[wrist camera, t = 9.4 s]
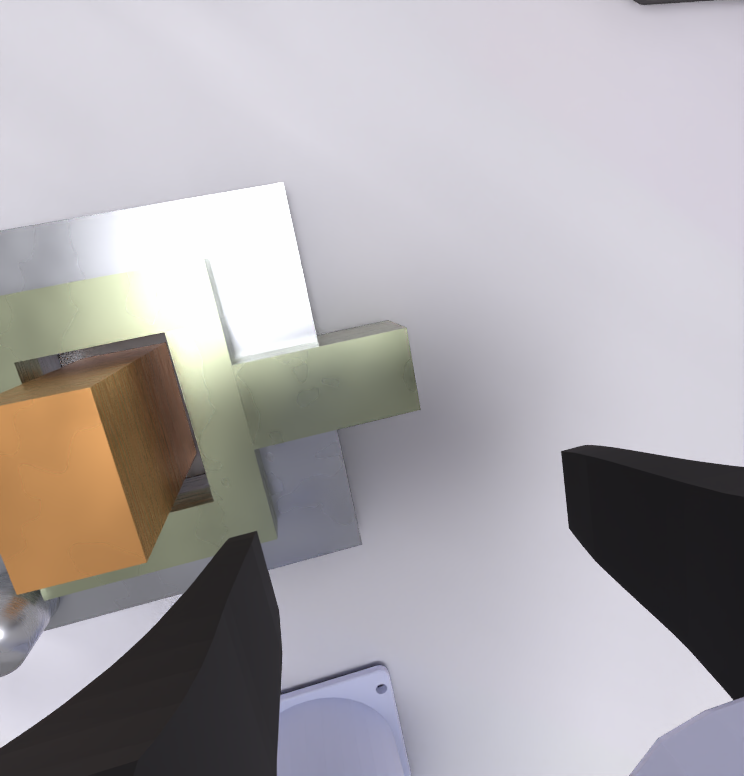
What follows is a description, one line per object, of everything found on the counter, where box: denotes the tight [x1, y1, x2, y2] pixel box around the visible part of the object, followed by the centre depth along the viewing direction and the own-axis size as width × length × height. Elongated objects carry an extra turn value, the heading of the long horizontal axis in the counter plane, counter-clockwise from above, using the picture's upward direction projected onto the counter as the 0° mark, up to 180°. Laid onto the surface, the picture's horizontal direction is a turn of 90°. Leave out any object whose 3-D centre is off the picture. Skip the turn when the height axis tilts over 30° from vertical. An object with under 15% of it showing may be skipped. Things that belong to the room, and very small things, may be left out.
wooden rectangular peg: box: [0, 342, 196, 595], centre depth 16 cm, size 4×3×8 cm, turn 10°
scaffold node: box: [0, 182, 421, 677], centre depth 18 cm, size 14×17×4 cm
